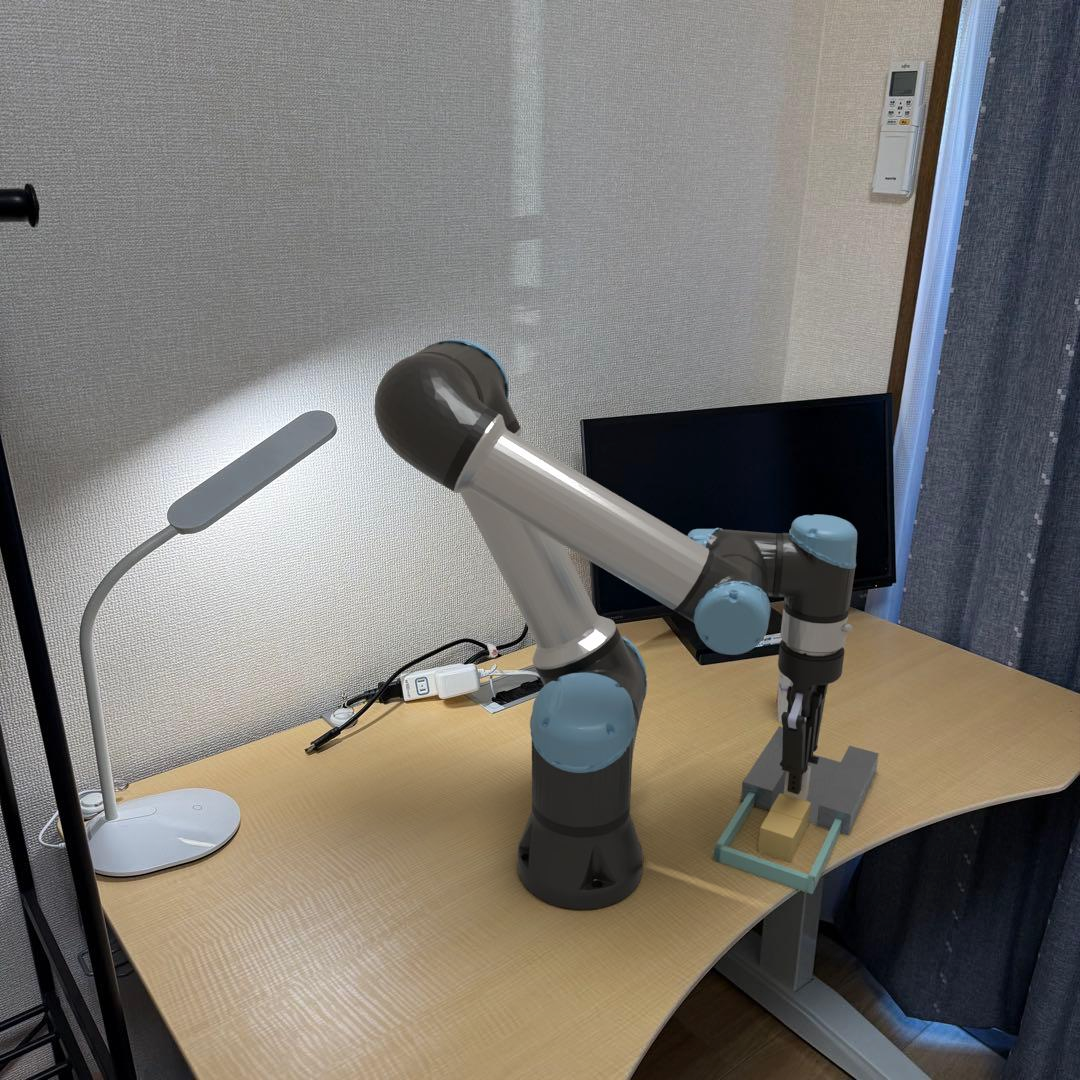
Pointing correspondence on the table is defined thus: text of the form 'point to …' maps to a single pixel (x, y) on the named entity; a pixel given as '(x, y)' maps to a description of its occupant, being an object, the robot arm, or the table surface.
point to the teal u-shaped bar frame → (766, 867)
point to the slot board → (816, 783)
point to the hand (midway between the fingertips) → (794, 808)
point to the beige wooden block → (793, 809)
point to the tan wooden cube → (780, 835)
